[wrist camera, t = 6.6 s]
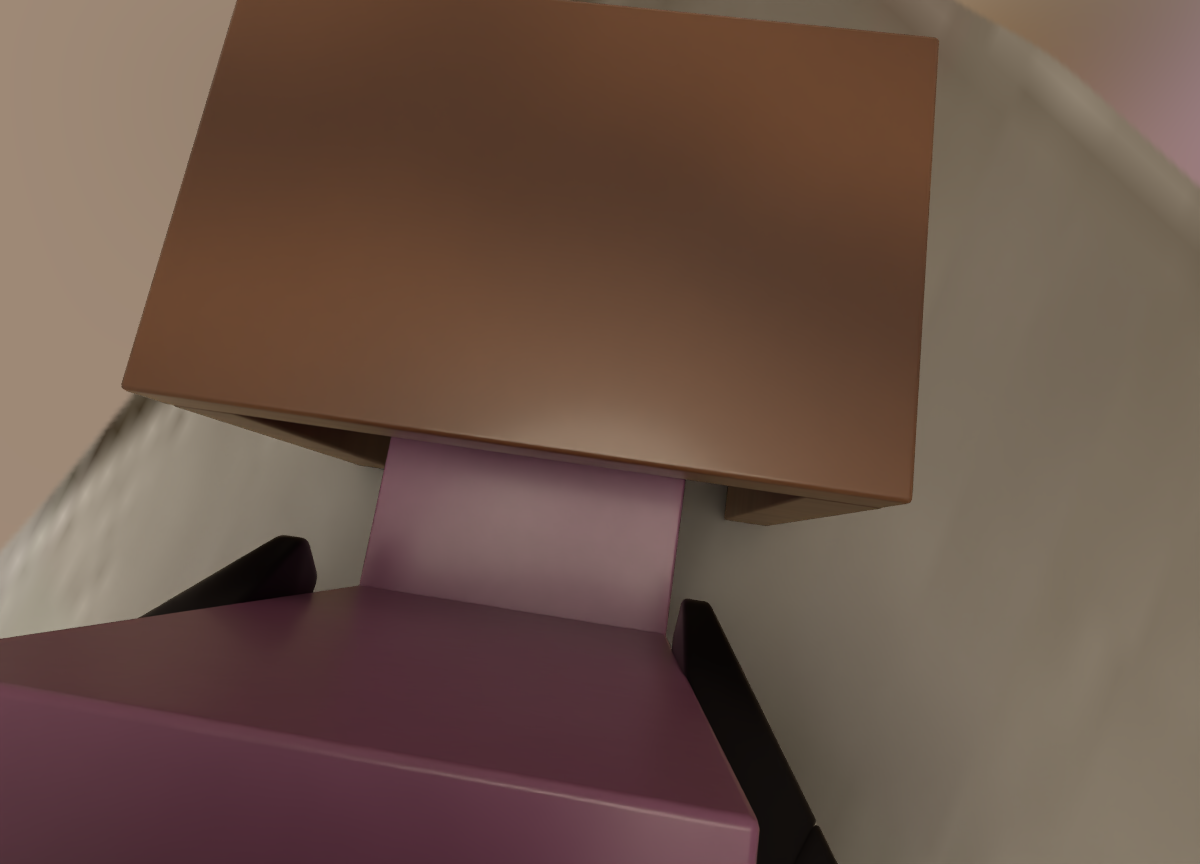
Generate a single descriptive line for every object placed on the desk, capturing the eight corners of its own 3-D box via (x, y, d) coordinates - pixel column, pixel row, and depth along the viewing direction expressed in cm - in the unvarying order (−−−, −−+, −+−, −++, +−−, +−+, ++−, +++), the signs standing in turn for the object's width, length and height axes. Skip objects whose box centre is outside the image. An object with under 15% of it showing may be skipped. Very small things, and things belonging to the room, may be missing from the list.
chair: (644, 670, 16) (733, 1135, 3) (423, 633, 17) (-249, 928, 4) (673, 447, 17) (826, 163, 4) (465, 417, 18) (52, 76, 5)
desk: (767, 526, 17) (914, 504, 8) (357, 465, 17) (117, 388, 9) (793, 271, 18) (941, 35, 10) (411, 224, 19) (244, -35, 10)
